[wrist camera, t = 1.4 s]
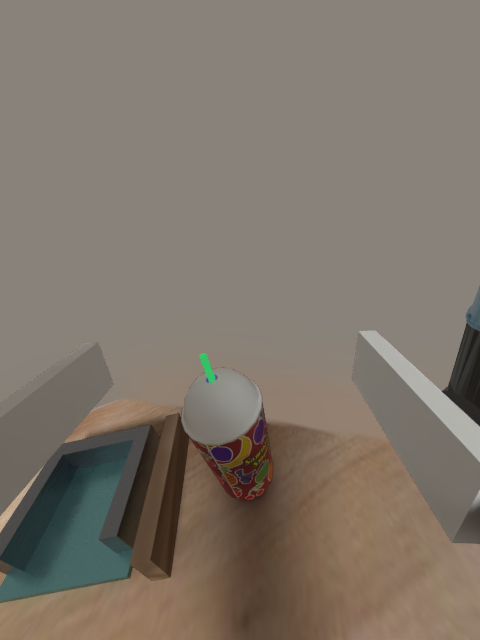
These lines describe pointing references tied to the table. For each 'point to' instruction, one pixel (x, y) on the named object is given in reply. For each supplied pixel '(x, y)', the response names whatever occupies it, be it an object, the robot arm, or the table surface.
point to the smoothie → (229, 430)
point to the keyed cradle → (79, 516)
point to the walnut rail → (162, 504)
